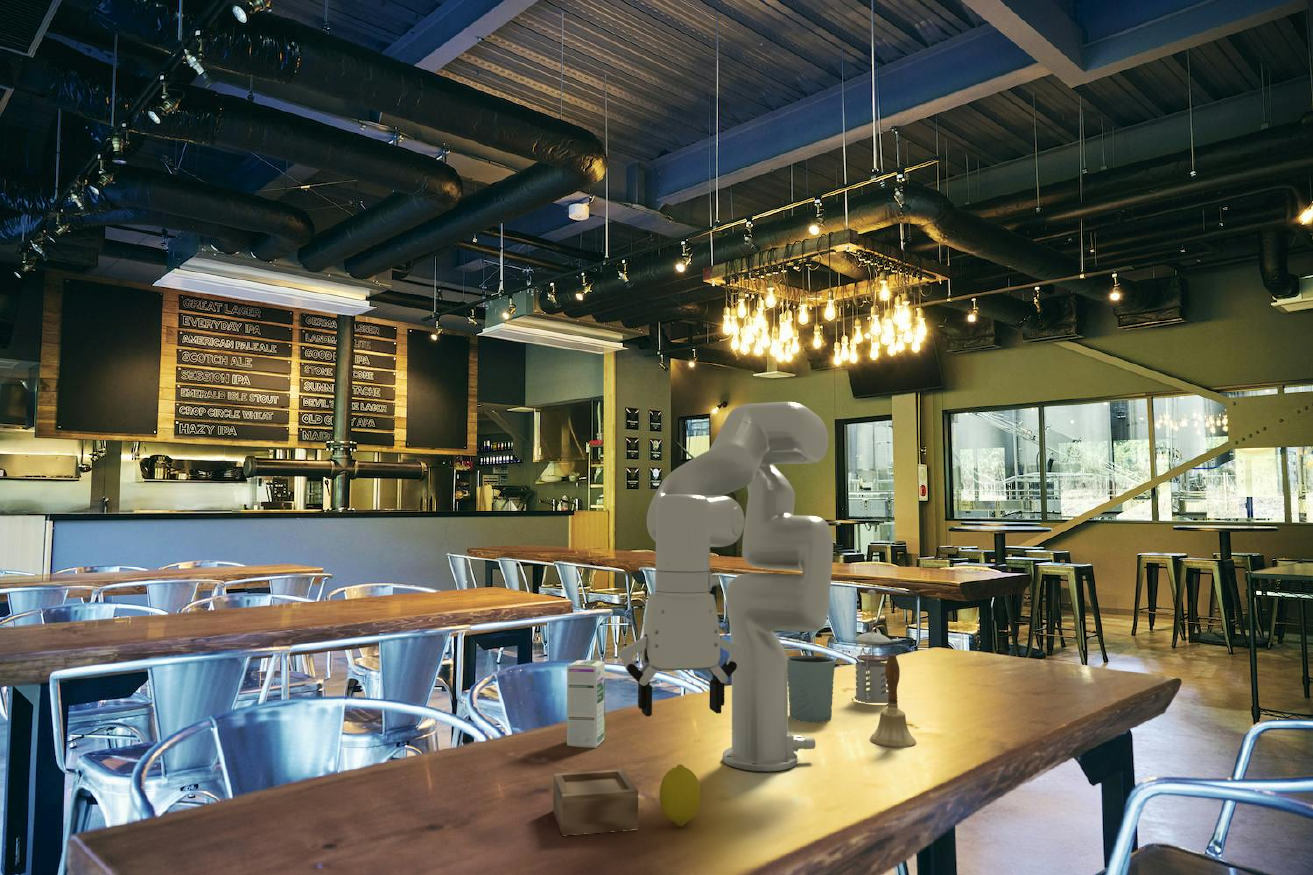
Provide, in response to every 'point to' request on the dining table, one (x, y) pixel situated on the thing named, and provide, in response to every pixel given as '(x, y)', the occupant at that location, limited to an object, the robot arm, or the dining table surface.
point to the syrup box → (586, 703)
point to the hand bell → (892, 713)
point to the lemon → (680, 795)
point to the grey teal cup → (810, 687)
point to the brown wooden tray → (595, 802)
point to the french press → (871, 668)
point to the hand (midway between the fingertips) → (681, 712)
